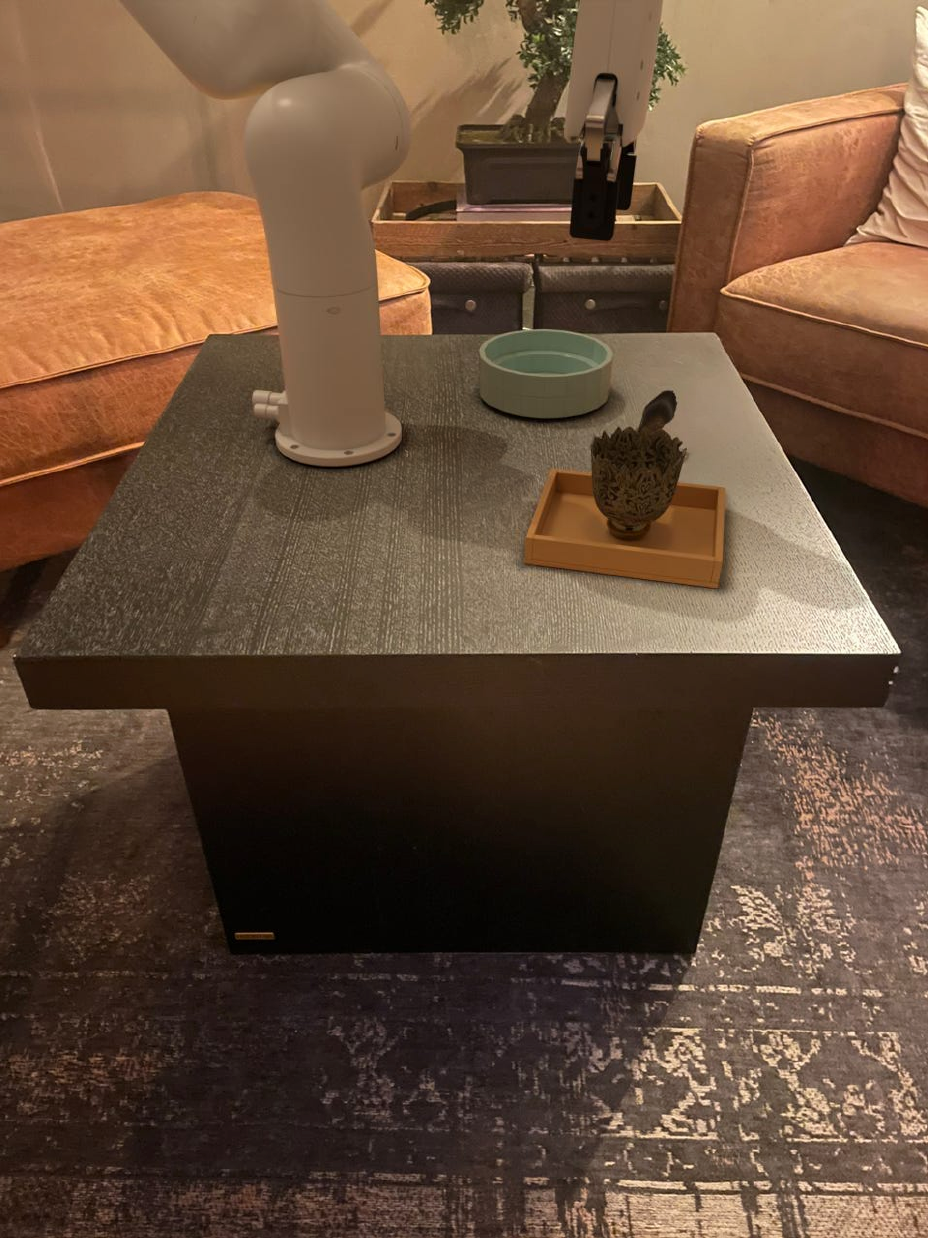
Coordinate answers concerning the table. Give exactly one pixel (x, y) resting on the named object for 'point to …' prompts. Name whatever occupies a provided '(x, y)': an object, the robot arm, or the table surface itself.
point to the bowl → (545, 373)
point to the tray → (669, 551)
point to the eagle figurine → (658, 413)
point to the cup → (634, 478)
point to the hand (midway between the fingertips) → (601, 222)
